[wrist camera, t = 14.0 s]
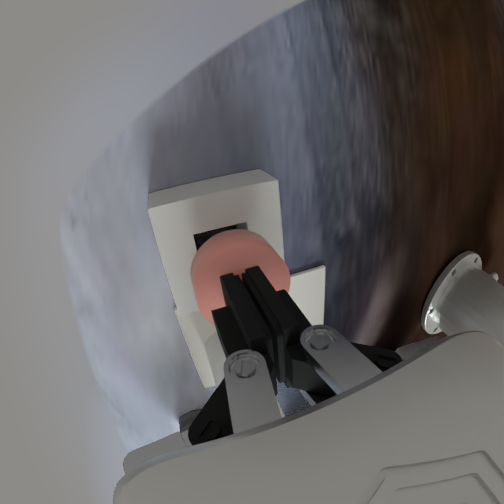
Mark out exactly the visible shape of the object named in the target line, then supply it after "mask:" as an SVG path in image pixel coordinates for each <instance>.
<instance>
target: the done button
mask: <svg viewBox="0 0 504 504" xmlns="http://www.w3.org/2000/svg"><path fill="white" fill-rule="evenodd" d="M257 265H258V266H259V267H260V269H261V270H262V271H263V273H264V274H265V276H266V277H267V279H268V280H269V281H270V283H271V284H272V286H273V287H274V289H275V290H276V291H279V290H282V289H284V290H286V291H287V292H289V289H290V273H289V269H288V267H287V265H286V263H285V262H284V261H283V259H282V258H281V257H280V256H279V255H278V253H277V252H276V251H275V250H274V249H273V247H272V246H271V245H270V244H269V243H268V242H267V240H266V239H265V238H263V237H262V236H261V235H259V234H257V233H255V232H252V231H249V230H244V229H233V230H227V231H224V232H219V233H216V234H214V235H213V236H212V237H211V238H210V239H208V240H207V241H206V242H205V243H204V244H203V245H202V246H201V247H200V248H199V249H198V251H197V252H196V254H195V256H194V258H193V260H192V264H191V270H190V277H191V282H192V285H193V289H194V293H195V297H196V300H197V304H198V307H199V310H200V311H201V313H202V315H203V316H204V317H205V318H206V319H207V320H208V321H209V322H211V323H212V324H214V320H213V316H212V312H211V310H215V309H218V308H222V307H225V306H226V305H225V301H224V296H223V291H222V286H221V282H220V276H221V275H225V274H228V273H233V274H234V275H239V277H240V279H241V280H242V275H241V274H242V273H245V269H247V268H250V267H254V266H257ZM214 325H215V324H214Z"/></svg>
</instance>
